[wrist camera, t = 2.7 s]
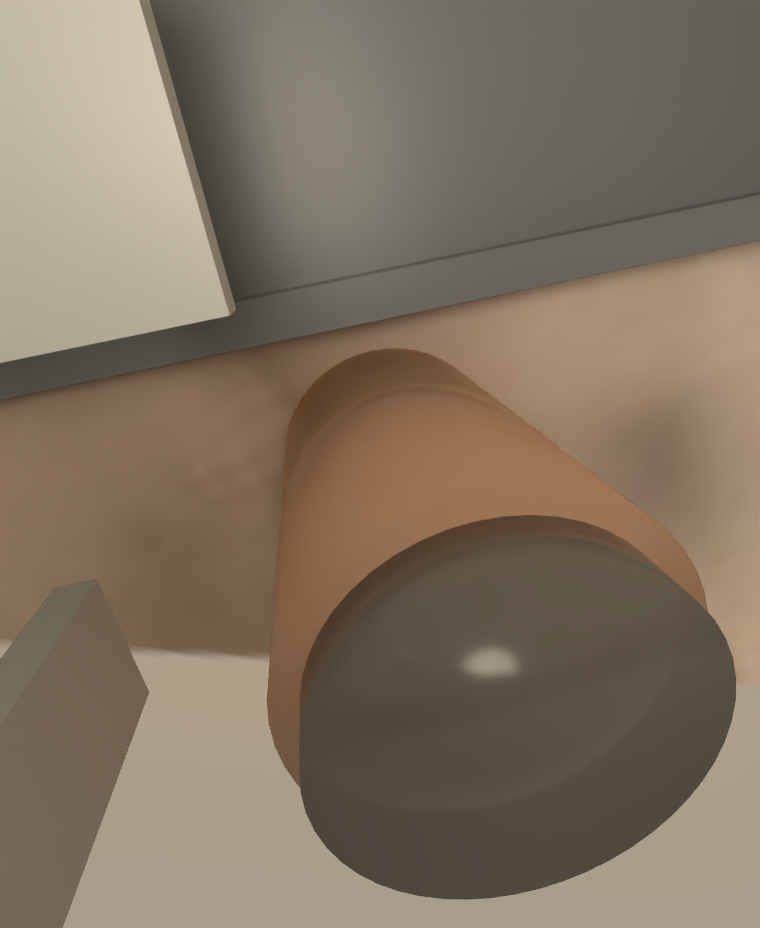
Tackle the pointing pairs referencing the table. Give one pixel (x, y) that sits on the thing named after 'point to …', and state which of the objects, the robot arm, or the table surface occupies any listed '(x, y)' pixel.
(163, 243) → the pusher
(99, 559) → the table surface
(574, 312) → the table surface
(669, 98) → the lane
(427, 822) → the jar terracotta
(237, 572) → the table surface
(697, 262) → the table surface
